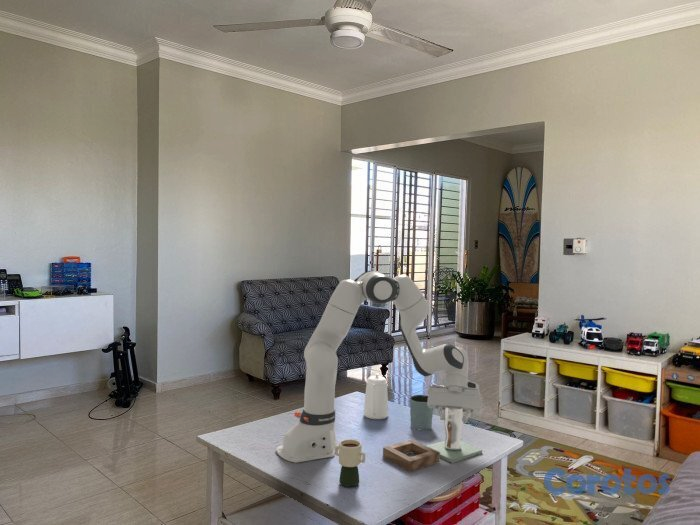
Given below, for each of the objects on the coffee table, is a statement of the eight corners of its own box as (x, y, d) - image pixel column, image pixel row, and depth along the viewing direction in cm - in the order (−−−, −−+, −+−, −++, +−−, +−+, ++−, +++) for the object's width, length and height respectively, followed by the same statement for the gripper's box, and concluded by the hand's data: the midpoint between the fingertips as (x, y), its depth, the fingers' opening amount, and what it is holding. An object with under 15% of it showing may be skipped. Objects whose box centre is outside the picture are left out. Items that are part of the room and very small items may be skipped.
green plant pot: (432, 423, 222) (433, 395, 222) (434, 431, 212) (435, 402, 212) (408, 422, 223) (409, 394, 222) (409, 430, 213) (410, 401, 212)
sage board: (451, 463, 182) (451, 459, 182) (423, 449, 193) (423, 446, 193) (482, 453, 192) (482, 450, 192) (453, 440, 203) (453, 437, 203)
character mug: (369, 484, 165) (371, 443, 165) (358, 493, 159) (359, 450, 158) (340, 475, 171) (341, 436, 170) (328, 483, 165) (329, 443, 164)
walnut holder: (409, 471, 175) (410, 461, 174) (382, 457, 186) (383, 447, 186) (439, 462, 183) (439, 452, 183) (411, 448, 194) (412, 439, 194)
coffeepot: (358, 424, 218) (359, 380, 217) (368, 406, 242) (369, 366, 241) (384, 427, 215) (385, 382, 215) (391, 408, 240) (392, 367, 239)
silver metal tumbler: (448, 441, 197) (450, 402, 197) (465, 446, 193) (467, 406, 192) (439, 446, 192) (441, 406, 191) (456, 452, 188) (458, 410, 187)
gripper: (428, 380, 201) (424, 413, 192) (483, 385, 196) (482, 419, 187) (428, 388, 205) (425, 421, 196) (482, 393, 200) (481, 427, 191)
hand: (453, 420), depth 191 cm, fingers closed on silver metal tumbler, 7 cm apart
